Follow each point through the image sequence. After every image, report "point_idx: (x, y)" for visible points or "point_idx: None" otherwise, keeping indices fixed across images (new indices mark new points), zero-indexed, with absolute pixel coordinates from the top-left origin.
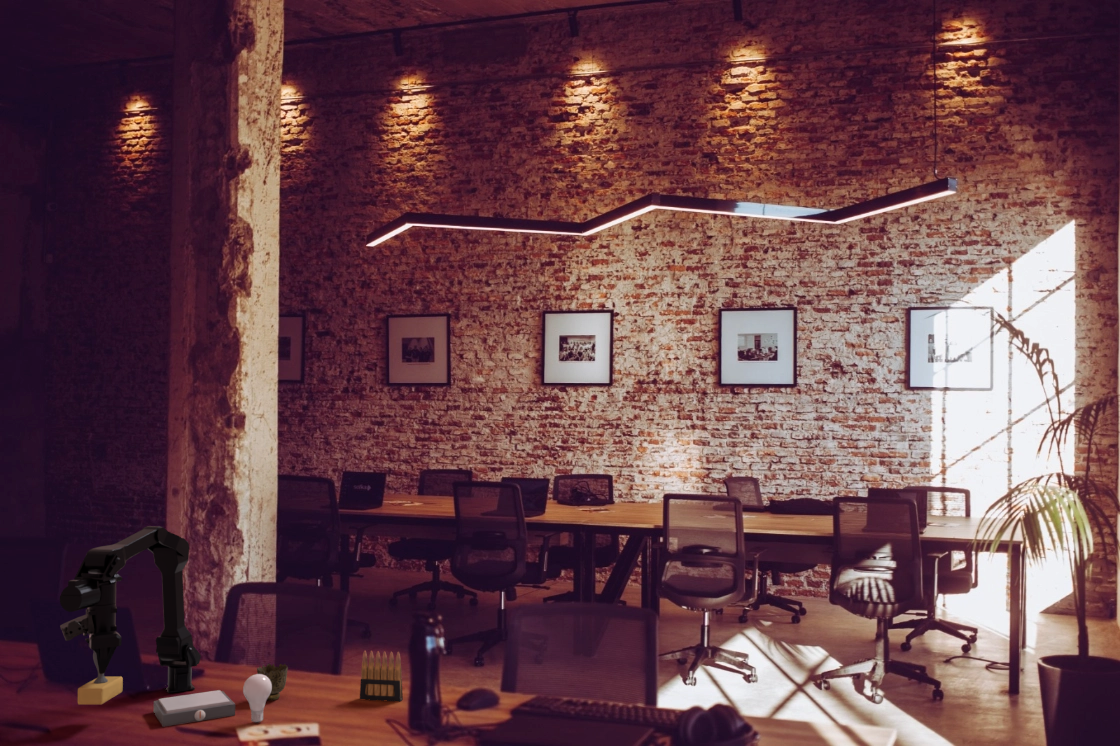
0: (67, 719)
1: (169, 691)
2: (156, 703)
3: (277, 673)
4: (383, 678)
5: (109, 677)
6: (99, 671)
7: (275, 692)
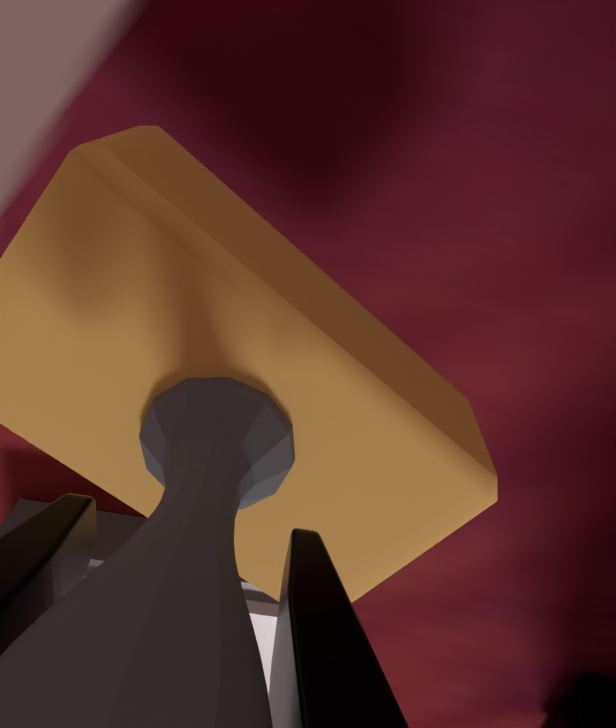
0: (583, 131)
1: (582, 685)
2: (253, 587)
3: None
4: None
5: (356, 550)
6: (41, 512)
7: None
